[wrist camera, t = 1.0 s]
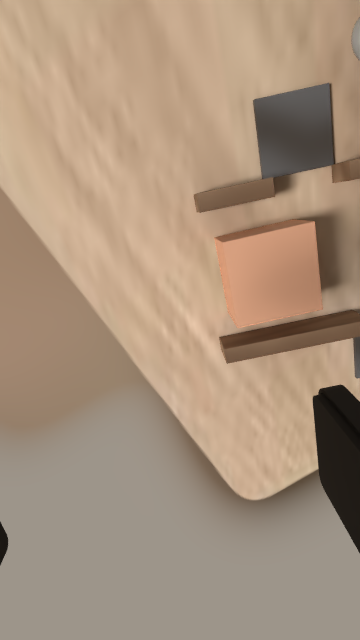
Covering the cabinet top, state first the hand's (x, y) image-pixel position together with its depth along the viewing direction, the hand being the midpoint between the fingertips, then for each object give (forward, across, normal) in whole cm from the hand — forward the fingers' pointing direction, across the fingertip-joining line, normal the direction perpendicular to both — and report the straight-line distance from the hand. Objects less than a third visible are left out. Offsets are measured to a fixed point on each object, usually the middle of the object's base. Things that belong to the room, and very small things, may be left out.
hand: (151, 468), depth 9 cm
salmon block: (+19, -8, 0) cm, 20 cm away
